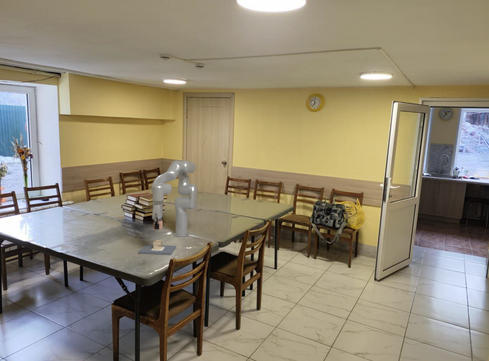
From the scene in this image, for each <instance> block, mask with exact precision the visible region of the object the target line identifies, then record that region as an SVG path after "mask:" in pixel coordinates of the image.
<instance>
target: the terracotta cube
mask: <svg viewBox="0 0 489 361" xmlns="http://www.w3.org/2000/svg"><path fill="white" fill-rule="evenodd" d="M163 224H164V223H163V220H162V221H159V229H154V221H153V230H157V231H160V230H161V231H162V229H163V226H164V225H163Z"/></svg>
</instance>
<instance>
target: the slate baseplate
mask: <svg viewBox="0 0 489 361" xmlns="http://www.w3.org/2000/svg"><path fill="white" fill-rule="evenodd" d="M176 249H177V245H168V244H167V245H166V244H163V247H162V249H161V250H154V249H153V244H147V243H146V244H145V245H143V247H141V249H140V250H139V251H138V254H140V255H141V254H142V255H157V256H158V255H159V256H172V254H173V253H174V251H175V250H176Z"/></svg>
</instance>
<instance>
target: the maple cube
mask: <svg viewBox="0 0 489 361" xmlns="http://www.w3.org/2000/svg"><path fill="white" fill-rule="evenodd" d="M152 245H153V249H154V250H161V249H162V247H163V245H164V244H163V240H158V239H155V240H154V242H153V244H152Z"/></svg>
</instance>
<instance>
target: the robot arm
mask: <svg viewBox="0 0 489 361" xmlns="http://www.w3.org/2000/svg"><path fill="white" fill-rule="evenodd" d="M196 168H197V167H196V164H195V162H192V161H188V160H178V159H177V160H173V161H172V162H171V163H170V165H169V167H168V168H167V170H166V172H164V173H162V174H160V175H158V176H156V178H155V179H154V181H153V182H152V184H151V189H150V190H151V192H152V213H151V215H152V216H151V219H152V220H153V222H154V229H153V230H155V229H159V221H163V216H164V211H163V210H164V204H165V203H164V202H165V198H164V197H165V196H164V195H168V194H170V193H171V192H172V190H173V187H172V185H171V183H168V182H171V181H175V180H176V179H177V177H178V180H177V181H178V183H177V193H178V194H179V195H181V196H177V197H175V199H174V206H175V207H174V208H175V232H173V236H175V237H178V238H179V237H180V238H181V237H183V238H184V237H188V236H189V235H190V232H189V231H188V224H189V223H188V222H189V221H188V219H189V217H188V215H189V214H188V211H187V210H195V209H196V207H197V202H198V201H197V200H198V187H197V185H196V184H194V183H190V175H189V174H193V173H195V172H196ZM187 196H188V197H187Z"/></svg>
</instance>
